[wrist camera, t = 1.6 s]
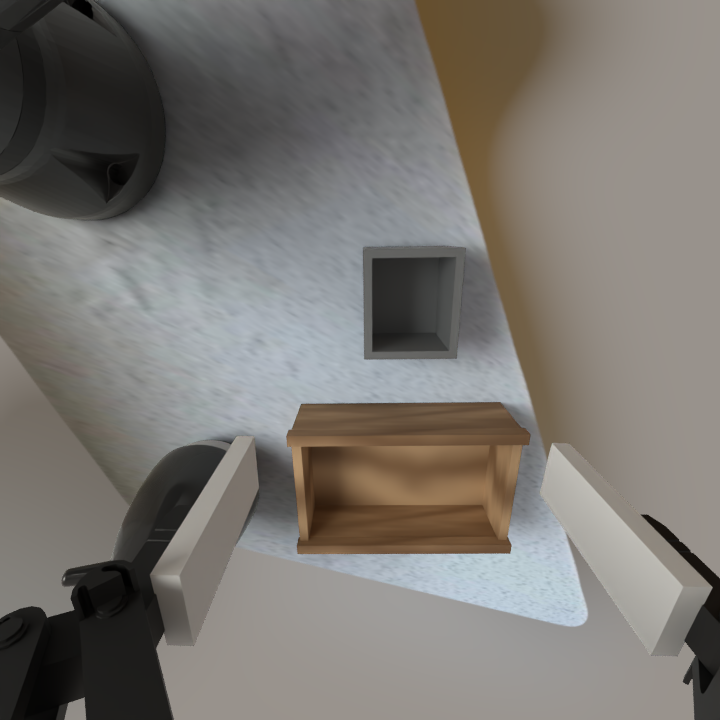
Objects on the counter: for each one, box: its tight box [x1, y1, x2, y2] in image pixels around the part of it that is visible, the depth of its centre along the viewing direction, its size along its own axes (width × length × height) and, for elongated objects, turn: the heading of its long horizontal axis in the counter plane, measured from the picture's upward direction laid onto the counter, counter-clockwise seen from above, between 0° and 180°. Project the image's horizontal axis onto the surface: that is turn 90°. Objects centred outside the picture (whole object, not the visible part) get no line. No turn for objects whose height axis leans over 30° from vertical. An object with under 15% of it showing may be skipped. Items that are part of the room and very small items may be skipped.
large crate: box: [286, 402, 530, 554], centre depth 33 cm, size 13×20×6 cm, turn 91°
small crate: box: [363, 246, 466, 359], centre depth 28 cm, size 8×7×6 cm
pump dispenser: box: [61, 440, 259, 587], centre depth 30 cm, size 10×10×15 cm
